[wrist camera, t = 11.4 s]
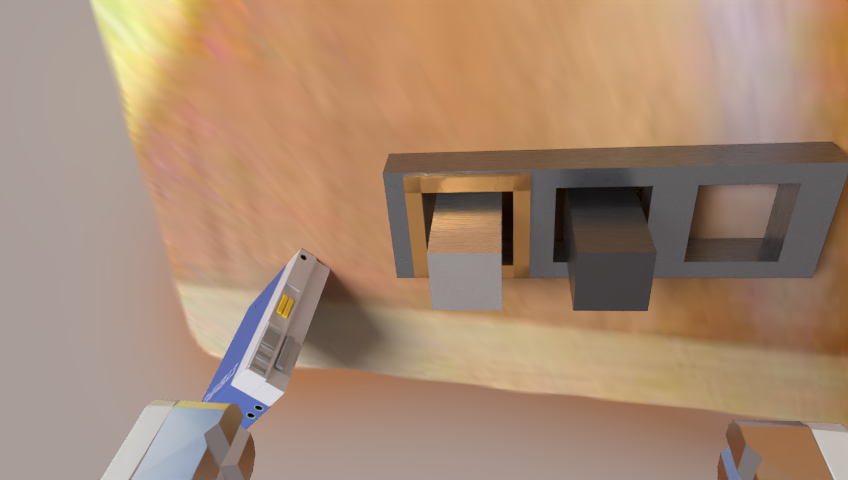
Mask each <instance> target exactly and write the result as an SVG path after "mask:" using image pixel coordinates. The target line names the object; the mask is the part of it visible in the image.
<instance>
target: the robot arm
mask: <svg viewBox="0 0 848 480" xmlns="http://www.w3.org/2000/svg"><path fill="white" fill-rule="evenodd" d="M243 417H244V416H243V414H242V412H241V410H240V408H239V405H238V404H227V403H211V402H194V401H177V400H156V399H155V400H153V401H152V402H151V403H150V404H148V405H147V406H146V407H145V409H144V410H143V412H142V413H141V415H140V417H139V418H138V420H137V422H136V423H135V425H134V426H133V428H132V430H131V431H130V433H129V435H128V436H127V438H126V439H125V441H124V443H123V444H122V446H121V447H120V449H119V451H118V452H117V454H116V456H115V457H114V459H113V461H112V462H111V464H110V465H109V467H108V468H107V470H106V472H105V473H104V475H103V477H102V479H101V480H250V477H251V474H252V472H253V466H254V459H255V447H254V441H253V438H252V436H251V433H250V432H248V431H247V430H246V429H245V428H243V427H242V426H241V425H240V424H241V422H242V419H243ZM726 438H727V441H728V444H729V448H727V449H726V450H724V451H723V452H721V453H720V458H719V462H718V480H848V430H847V429H846V428H845V427H844V426H843V425H842V424H837V423H808V422H804V423H801V422H800V421H755V420H754V421H751V420H733V421H732V422H731V423H730V424H729V426H728V429H727V432H726Z"/></svg>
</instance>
